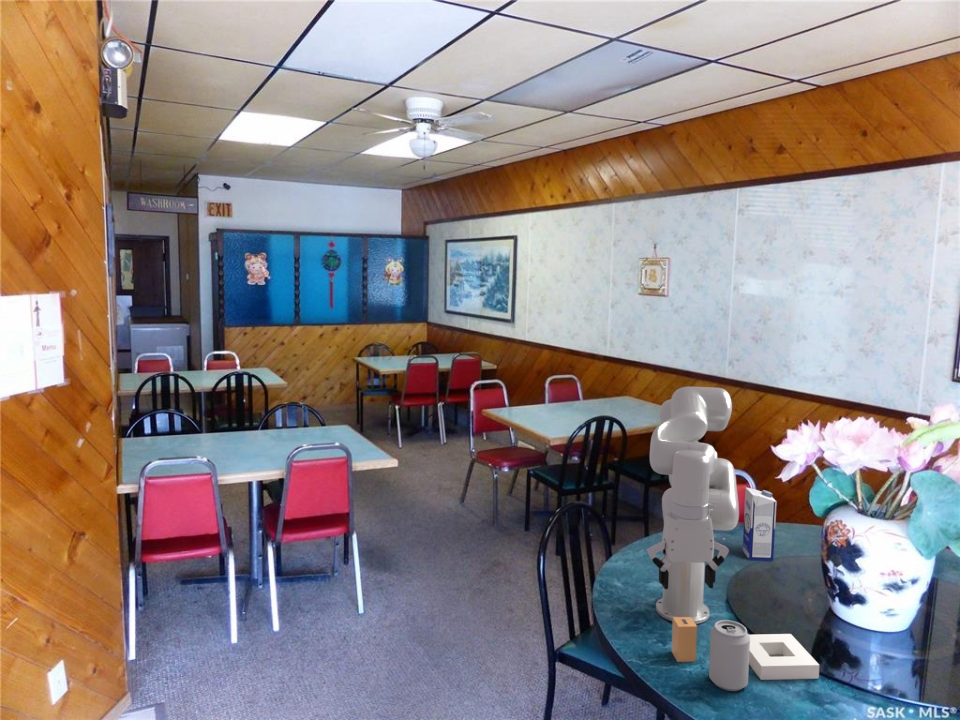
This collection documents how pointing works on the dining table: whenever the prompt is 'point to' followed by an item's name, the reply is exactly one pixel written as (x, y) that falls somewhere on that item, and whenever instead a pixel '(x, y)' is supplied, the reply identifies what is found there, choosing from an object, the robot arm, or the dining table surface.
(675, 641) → the charger
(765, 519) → the milk carton
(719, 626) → the can
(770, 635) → the outlet plate
